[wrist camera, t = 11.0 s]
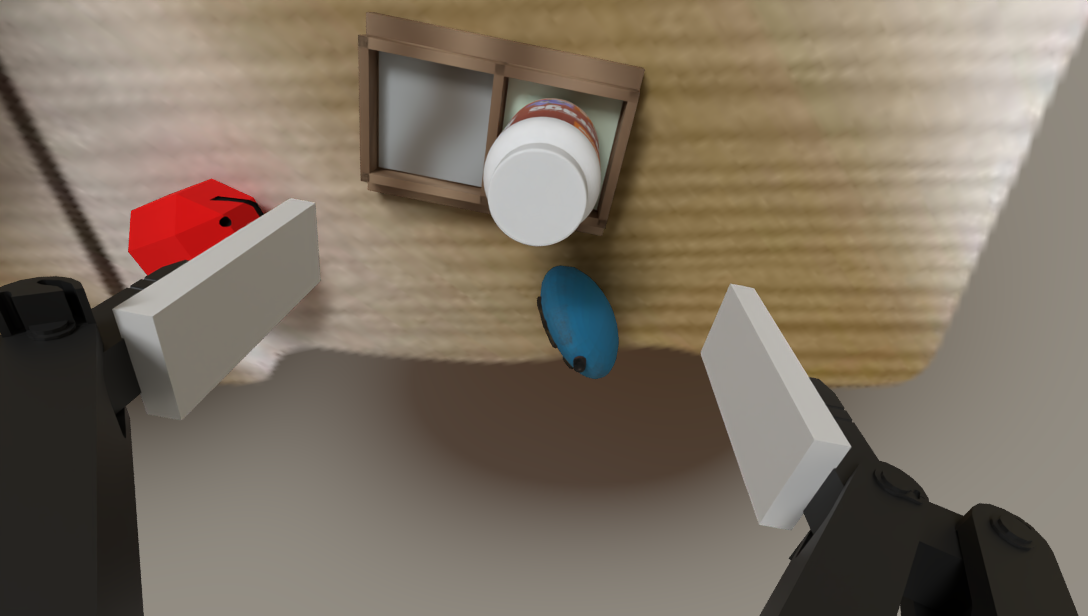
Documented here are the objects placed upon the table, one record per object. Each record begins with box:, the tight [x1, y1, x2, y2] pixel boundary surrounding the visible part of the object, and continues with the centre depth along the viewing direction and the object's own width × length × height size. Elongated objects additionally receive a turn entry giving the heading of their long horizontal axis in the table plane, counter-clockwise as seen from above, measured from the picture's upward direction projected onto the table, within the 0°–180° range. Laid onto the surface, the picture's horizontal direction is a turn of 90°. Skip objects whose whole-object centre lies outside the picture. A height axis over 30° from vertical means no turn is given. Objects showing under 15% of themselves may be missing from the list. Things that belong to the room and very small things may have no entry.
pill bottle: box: [483, 98, 601, 246], centre depth 27 cm, size 6×6×11 cm
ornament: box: [537, 266, 619, 379], centre depth 35 cm, size 8×5×10 cm, turn 33°
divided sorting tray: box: [358, 12, 645, 236], centre depth 32 cm, size 17×11×3 cm, turn 80°
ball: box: [128, 179, 264, 276], centre depth 35 cm, size 8×8×8 cm
